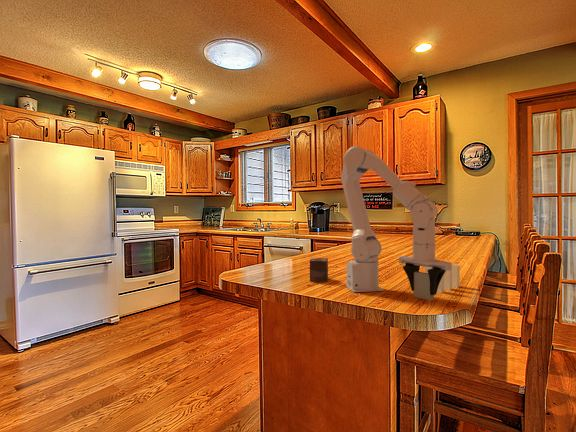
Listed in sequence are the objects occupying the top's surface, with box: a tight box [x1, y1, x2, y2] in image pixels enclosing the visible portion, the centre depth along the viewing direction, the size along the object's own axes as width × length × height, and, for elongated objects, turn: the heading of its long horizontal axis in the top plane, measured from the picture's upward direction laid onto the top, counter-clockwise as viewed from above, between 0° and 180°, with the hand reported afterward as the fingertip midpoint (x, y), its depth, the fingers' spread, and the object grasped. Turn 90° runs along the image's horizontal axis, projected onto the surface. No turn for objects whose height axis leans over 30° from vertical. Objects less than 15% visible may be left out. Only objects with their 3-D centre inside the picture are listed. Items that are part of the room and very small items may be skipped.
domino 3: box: [444, 270, 453, 291], centre depth 98 cm, size 2×5×7 cm, turn 37°
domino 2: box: [424, 267, 445, 294], centre depth 95 cm, size 2×5×7 cm, turn 37°
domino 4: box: [452, 263, 461, 289], centre depth 101 cm, size 2×5×7 cm, turn 37°
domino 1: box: [413, 271, 435, 301], centre depth 87 cm, size 2×5×7 cm, turn 37°
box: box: [309, 257, 329, 283], centre depth 110 cm, size 6×6×7 cm
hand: (423, 292), depth 87 cm, fingers closed on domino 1, 5 cm apart
